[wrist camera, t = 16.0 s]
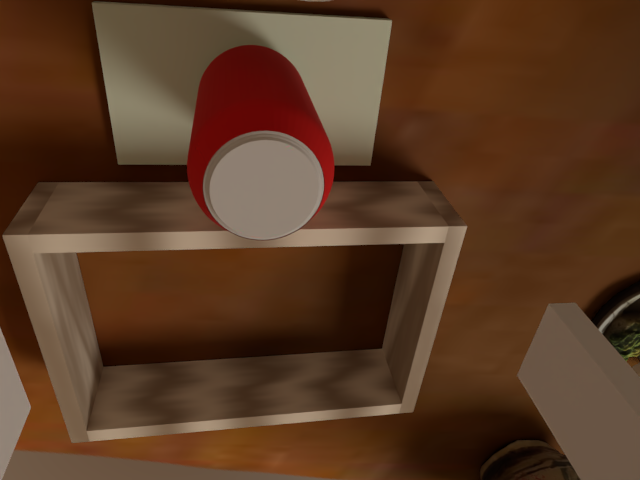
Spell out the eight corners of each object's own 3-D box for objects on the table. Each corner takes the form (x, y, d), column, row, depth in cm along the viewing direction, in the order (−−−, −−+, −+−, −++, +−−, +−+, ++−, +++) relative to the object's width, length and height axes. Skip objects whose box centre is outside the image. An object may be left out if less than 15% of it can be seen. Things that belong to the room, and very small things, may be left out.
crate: (433, 181, 35) (467, 226, 30) (392, 357, 45) (413, 412, 40) (38, 182, 30) (2, 235, 25) (90, 377, 40) (71, 442, 35)
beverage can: (195, 138, 30) (180, 251, 20) (202, 30, 26) (188, 102, 17) (294, 150, 31) (325, 261, 21) (312, 49, 28) (358, 126, 18)
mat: (389, 18, 28) (392, 20, 28) (368, 161, 33) (370, 165, 33) (94, 1, 25) (91, 2, 25) (119, 160, 30) (117, 164, 30)
